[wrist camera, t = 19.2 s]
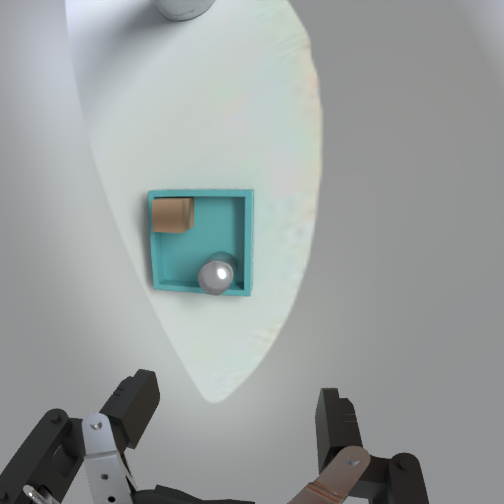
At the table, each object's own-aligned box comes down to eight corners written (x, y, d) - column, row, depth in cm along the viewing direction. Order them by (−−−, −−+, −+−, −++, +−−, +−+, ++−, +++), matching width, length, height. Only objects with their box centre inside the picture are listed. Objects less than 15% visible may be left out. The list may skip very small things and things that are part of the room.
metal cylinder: (207, 251, 40) (196, 263, 34) (236, 251, 39) (229, 263, 33) (210, 279, 40) (199, 294, 35) (237, 278, 40) (231, 295, 34)
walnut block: (167, 196, 38) (151, 200, 33) (194, 197, 38) (181, 200, 33) (167, 225, 39) (152, 231, 34) (194, 226, 39) (182, 233, 34)
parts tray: (156, 189, 39) (148, 191, 36) (254, 189, 37) (251, 190, 35) (161, 282, 42) (154, 288, 40) (252, 288, 41) (250, 296, 38)
